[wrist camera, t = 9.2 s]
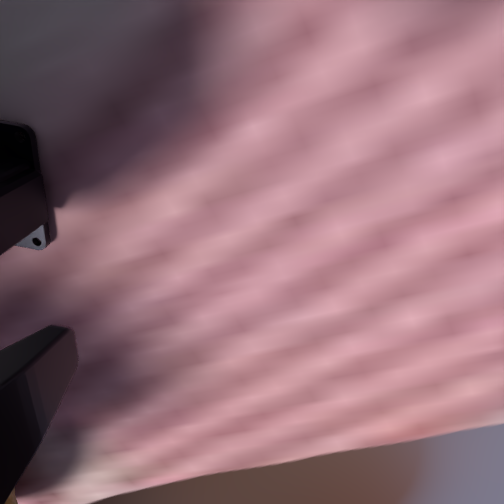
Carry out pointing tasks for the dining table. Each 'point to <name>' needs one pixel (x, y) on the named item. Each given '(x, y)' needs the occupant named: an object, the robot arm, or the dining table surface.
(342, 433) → the dining table surface
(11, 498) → the ceramic pitcher
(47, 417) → the robot arm
